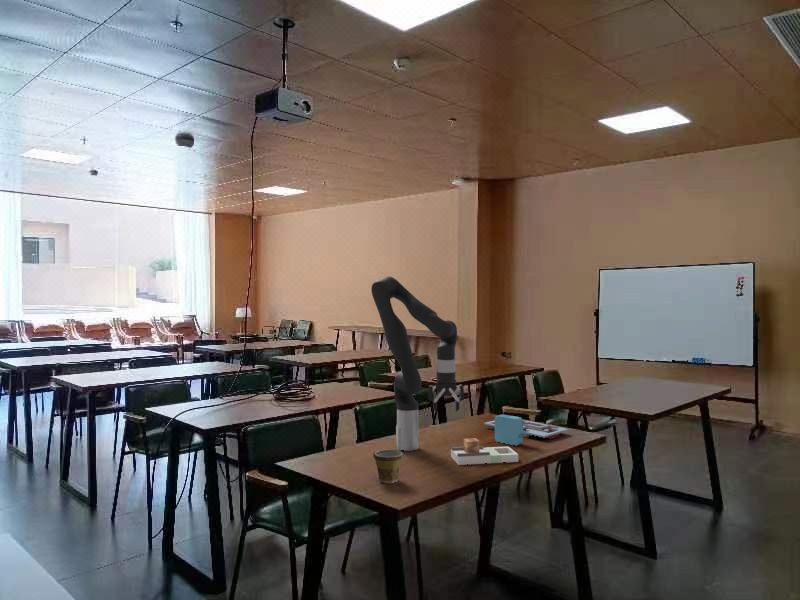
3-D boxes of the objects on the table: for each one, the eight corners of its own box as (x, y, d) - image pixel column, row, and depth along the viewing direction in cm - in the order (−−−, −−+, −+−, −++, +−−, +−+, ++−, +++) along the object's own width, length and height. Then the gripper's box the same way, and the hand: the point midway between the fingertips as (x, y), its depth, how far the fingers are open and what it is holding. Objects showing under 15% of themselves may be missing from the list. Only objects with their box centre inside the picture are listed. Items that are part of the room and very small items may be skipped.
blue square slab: (523, 444, 258) (523, 417, 258) (517, 446, 255) (517, 419, 255) (499, 440, 266) (499, 413, 266) (494, 441, 263) (494, 415, 263)
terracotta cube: (467, 454, 232) (467, 441, 232) (463, 450, 237) (463, 438, 237) (479, 453, 233) (479, 441, 233) (475, 450, 238) (475, 438, 238)
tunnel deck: (458, 464, 228) (458, 454, 228) (451, 456, 240) (451, 446, 240) (518, 461, 232) (518, 451, 232) (508, 453, 244) (508, 444, 244)
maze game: (484, 429, 289) (484, 422, 289) (509, 423, 301) (509, 417, 301) (543, 442, 262) (543, 435, 262) (568, 435, 275) (568, 429, 275)
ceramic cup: (408, 480, 209) (408, 453, 209) (387, 487, 202) (387, 458, 202) (383, 472, 219) (383, 446, 218) (363, 479, 212) (363, 451, 211)
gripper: (430, 372, 228) (430, 413, 228) (465, 371, 230) (465, 412, 230) (426, 369, 235) (426, 409, 236) (461, 369, 237) (461, 408, 238)
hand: (446, 411), depth 233 cm, fingers open, 8 cm apart
